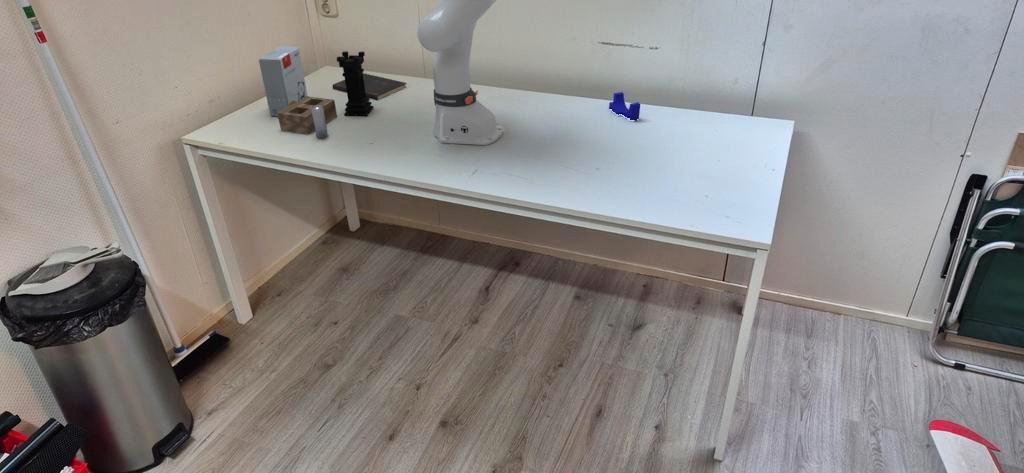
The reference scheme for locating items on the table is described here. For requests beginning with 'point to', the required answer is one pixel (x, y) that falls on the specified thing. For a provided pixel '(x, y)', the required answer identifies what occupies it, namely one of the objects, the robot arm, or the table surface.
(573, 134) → the table surface
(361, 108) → the chess piece
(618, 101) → the cable clip
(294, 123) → the bore block
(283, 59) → the hard drive box
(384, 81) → the hardcover book
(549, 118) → the table surface
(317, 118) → the pin
